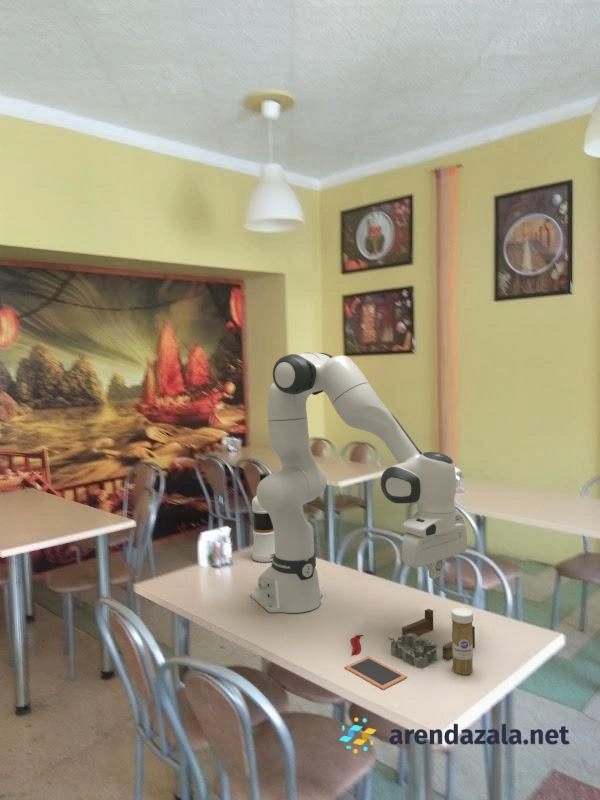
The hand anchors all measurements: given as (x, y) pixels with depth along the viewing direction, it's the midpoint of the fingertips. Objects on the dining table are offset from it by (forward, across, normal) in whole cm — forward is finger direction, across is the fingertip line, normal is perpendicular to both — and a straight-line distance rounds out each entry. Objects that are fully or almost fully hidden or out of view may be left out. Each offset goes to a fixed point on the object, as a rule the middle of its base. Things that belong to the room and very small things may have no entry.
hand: (435, 577), depth 147 cm
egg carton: (+17, +9, +1) cm, 19 cm away
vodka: (+18, -5, -79) cm, 81 cm away
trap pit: (+16, +21, +1) cm, 27 cm away
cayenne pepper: (+17, +15, -12) cm, 26 cm away
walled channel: (+16, 0, +1) cm, 16 cm away
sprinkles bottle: (+16, +6, +12) cm, 21 cm away
